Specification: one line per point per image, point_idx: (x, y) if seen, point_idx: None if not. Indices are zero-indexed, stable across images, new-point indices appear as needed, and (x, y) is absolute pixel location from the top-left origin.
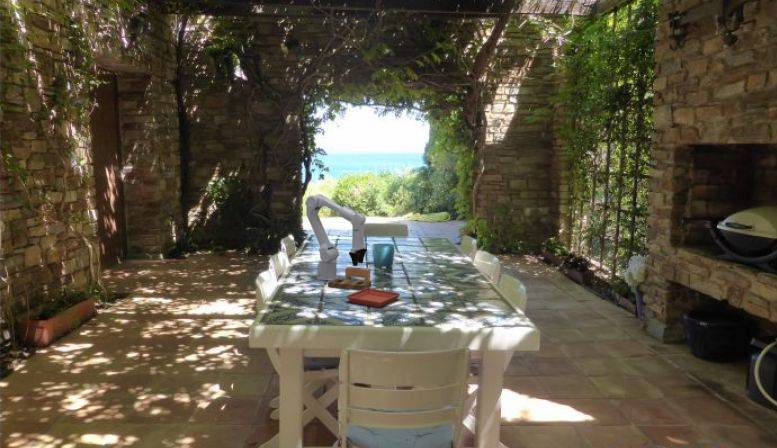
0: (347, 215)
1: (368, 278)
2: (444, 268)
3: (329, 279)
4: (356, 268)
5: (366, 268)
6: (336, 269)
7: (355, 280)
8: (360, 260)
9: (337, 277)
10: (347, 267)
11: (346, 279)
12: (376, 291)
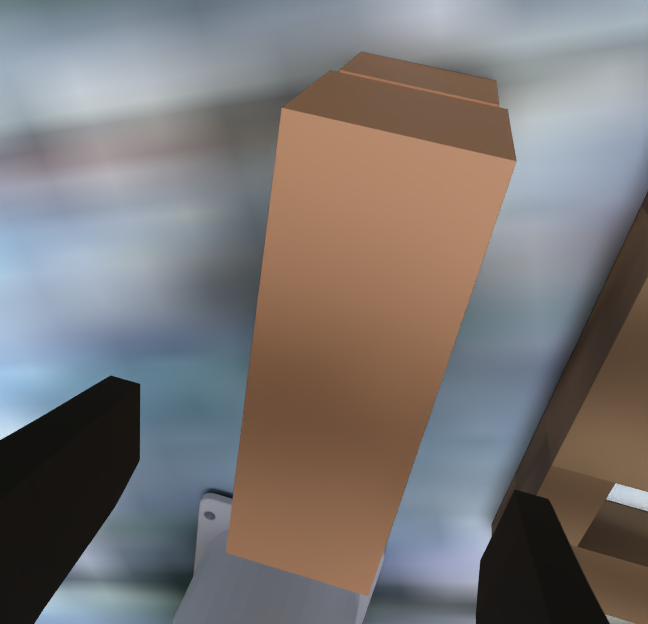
0: None
1: (455, 91)
2: None
3: None
4: (338, 430)
5: (283, 218)
6: (224, 621)
7: (642, 326)
8: (103, 472)
9: None
10: (287, 565)
11: (559, 459)
12: None
